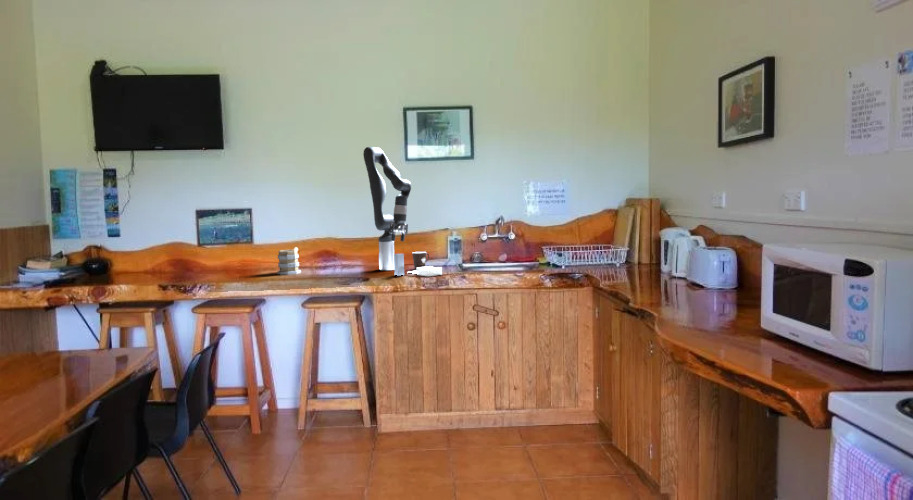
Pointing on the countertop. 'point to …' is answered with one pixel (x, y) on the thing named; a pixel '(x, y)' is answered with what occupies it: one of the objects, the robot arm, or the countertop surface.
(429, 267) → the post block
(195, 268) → the countertop surface
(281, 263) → the tankard
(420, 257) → the coffee mug
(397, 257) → the grey rectangular block
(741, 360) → the countertop surface
